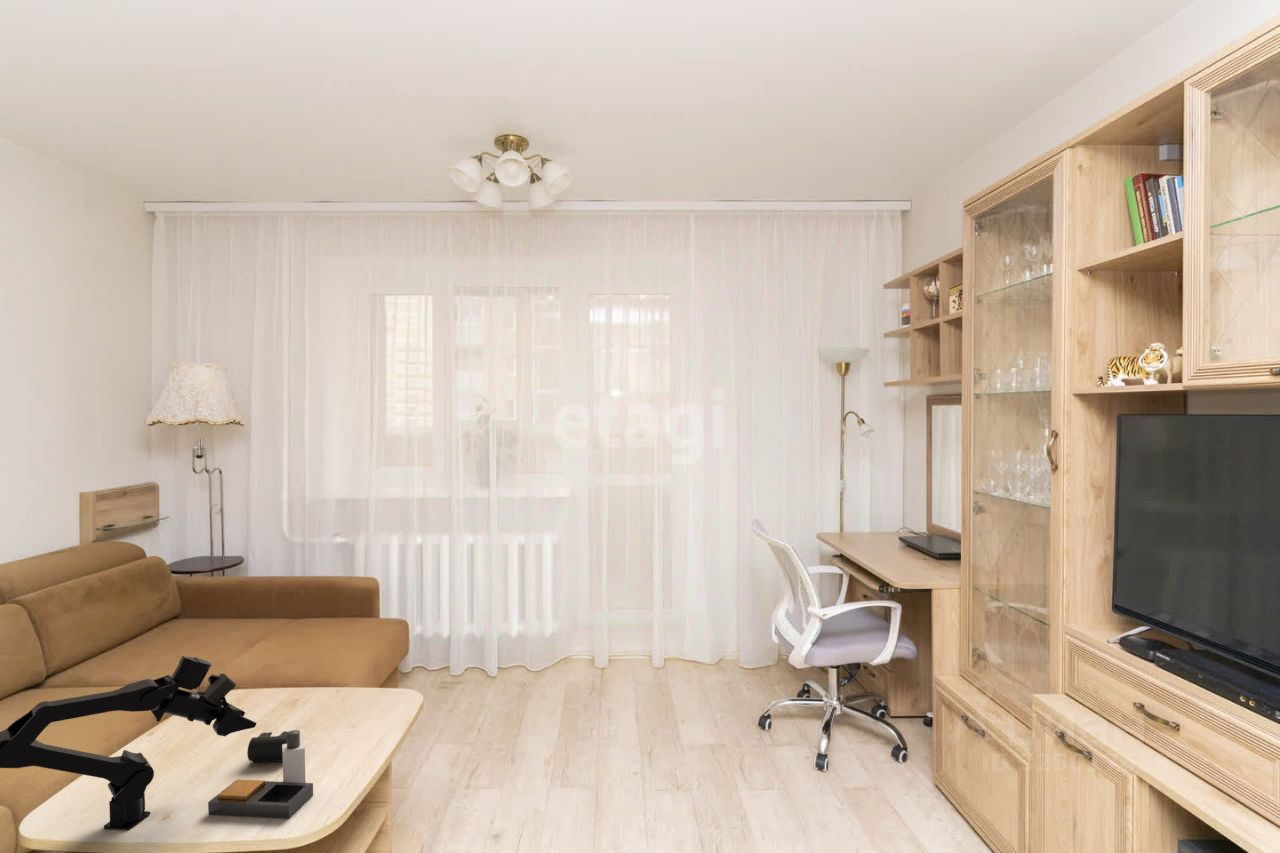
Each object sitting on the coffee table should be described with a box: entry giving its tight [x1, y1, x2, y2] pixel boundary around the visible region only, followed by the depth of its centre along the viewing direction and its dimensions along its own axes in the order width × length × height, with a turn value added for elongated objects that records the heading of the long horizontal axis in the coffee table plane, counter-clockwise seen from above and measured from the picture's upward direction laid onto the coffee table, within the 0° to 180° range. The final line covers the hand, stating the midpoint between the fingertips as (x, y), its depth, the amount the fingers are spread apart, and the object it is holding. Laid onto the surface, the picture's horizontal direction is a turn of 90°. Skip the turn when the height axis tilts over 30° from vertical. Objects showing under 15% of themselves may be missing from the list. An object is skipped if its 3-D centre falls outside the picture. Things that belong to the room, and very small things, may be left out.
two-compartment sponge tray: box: [207, 778, 314, 820], centre depth 170 cm, size 10×20×4 cm, turn 84°
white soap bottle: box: [282, 729, 307, 783], centre depth 179 cm, size 5×5×13 cm
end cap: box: [247, 730, 289, 763], centre depth 192 cm, size 10×7×7 cm
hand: (249, 719), depth 182 cm, fingers open, 9 cm apart
